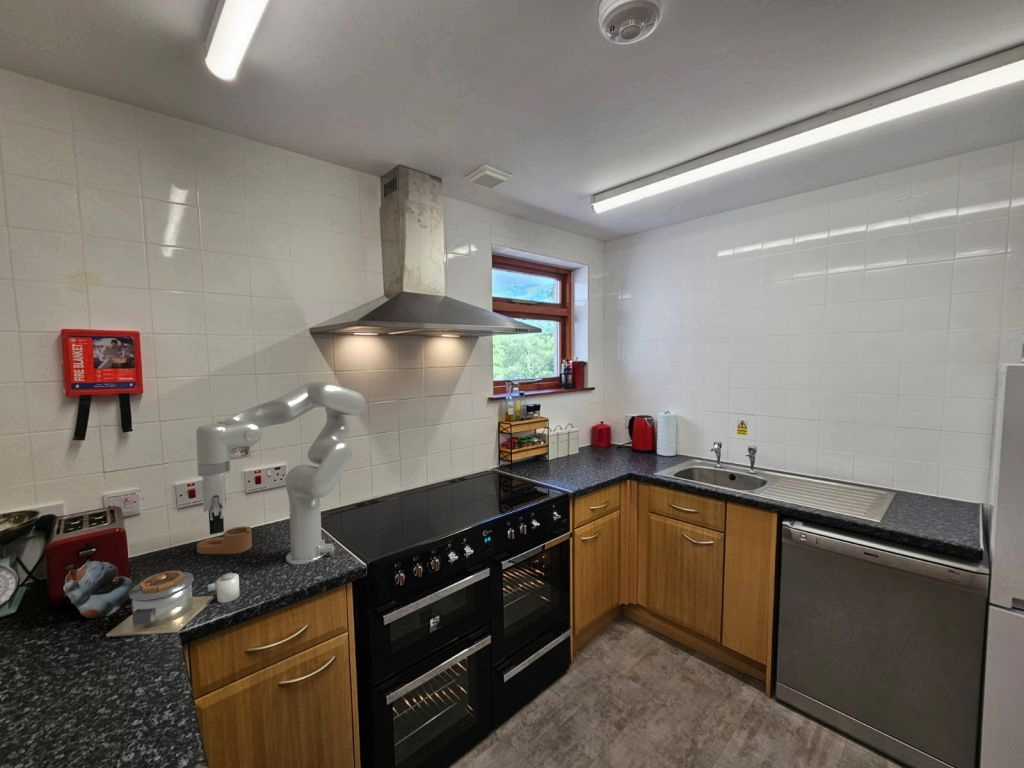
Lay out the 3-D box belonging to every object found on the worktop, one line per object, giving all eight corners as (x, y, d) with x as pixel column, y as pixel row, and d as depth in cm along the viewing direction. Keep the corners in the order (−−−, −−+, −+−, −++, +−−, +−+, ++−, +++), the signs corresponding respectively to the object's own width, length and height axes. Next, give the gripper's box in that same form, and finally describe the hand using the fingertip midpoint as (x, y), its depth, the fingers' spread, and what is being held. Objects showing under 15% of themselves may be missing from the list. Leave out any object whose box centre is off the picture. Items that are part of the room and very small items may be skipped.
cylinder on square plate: (213, 599, 119) (212, 563, 119) (177, 634, 104) (175, 592, 104) (152, 603, 118) (150, 566, 117) (106, 638, 103) (103, 596, 102)
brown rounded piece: (256, 544, 156) (256, 526, 155) (241, 555, 147) (241, 535, 147) (208, 544, 156) (208, 526, 156) (191, 554, 148) (190, 535, 147)
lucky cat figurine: (100, 624, 108) (91, 571, 107) (50, 629, 108) (41, 576, 107) (147, 591, 123) (140, 545, 122) (104, 595, 123) (96, 549, 122)
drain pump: (239, 591, 123) (238, 569, 123) (240, 599, 119) (239, 576, 119) (208, 600, 119) (207, 576, 119) (208, 608, 115) (207, 584, 115)
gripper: (197, 464, 125) (200, 521, 126) (197, 476, 111) (200, 540, 112) (228, 460, 129) (230, 515, 130) (231, 472, 115) (234, 534, 116)
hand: (216, 527), depth 121 cm, fingers open, 9 cm apart
